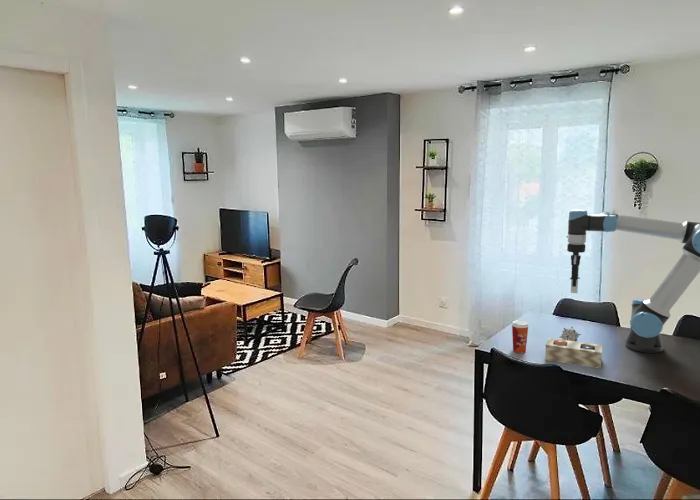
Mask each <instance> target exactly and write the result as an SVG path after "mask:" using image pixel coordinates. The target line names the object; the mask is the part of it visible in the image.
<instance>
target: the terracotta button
mask: <svg viewBox="0 0 700 500" xmlns="http://www.w3.org/2000/svg"><path fill="white" fill-rule="evenodd" d="M555 339H556V340H555V345H562V346H566V341H565V340H563V339H562V338H555Z"/></svg>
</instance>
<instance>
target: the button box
mask: <svg viewBox="0 0 700 500" xmlns="http://www.w3.org/2000/svg"><path fill="white" fill-rule="evenodd" d="M547 338H548V339H547V340H546V344H545V355H544V358H545V359H544V360H545V361H550V362H556V363H557V362H558V363H564V364H570V365H575V364H576V365H575V366H582V365H584V366H583V367H588V366H591V367H590V368H594V367H598V368H597V369H601V368H602V358H603V357H602V355H603V344H597V343H589V342H582V341H568V340H565V341H566V346H562V345H555V340H556V339H557V338H552V337H547ZM584 345H588V346H592V347H593V348H594V350H591V349H583V348H582V346H584Z"/></svg>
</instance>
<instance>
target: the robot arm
mask: <svg viewBox="0 0 700 500" xmlns="http://www.w3.org/2000/svg"><path fill="white" fill-rule="evenodd" d="M567 225H568V227H567V231H568V232H567V235H566V238H567V243H568V244H567V252H569V253H572V254H570V262H571V263H570V265H571V277H569V280H570V281H571V283H570V293H571V294H578V287H579V280H581V279H580V277H579V267H580V264H581V257H582V255H580V254H581V253H585V252H586V242H587V232H605V233H609V232H612V233H613V232H616V231H618V232H626V233H630V234H631V233H632V234H637V235H638V234H639V235H644V236H650V237H651V236H652V237H657V238H662V239H663V238H664V239H669V240H670V239H671V240H674V241H675V240H676V241H679V242H680V243H681V244H684V245H683V247H682V251H683V252H682V253H683V254H682V255H681V256H680V257H679V259H678V260H677V262H676V263H675V264H674V266H673V267H672V269H670V271H669V272H668V273H667V274H666V276H665V277H664V279H663V280H662V282H661V283H660V284H659V286H658V287H657V288H656V289H655V291H654V292H653V294H652V295H651V296H650V298H649V299H646V298H635V299H632V302H631V315H630V319H629V322H630V323H629V324H630V329H629V332H628V334H627V336H626V338H625V341H624V342H625V343H624V346H625V347H626V348H628V349H631V351H632V350H633V351H635V352H640V353H644V354H645V353H648V354H658V353H661V352H663V351H664V350H663V349H664V344H663V340H662V338H661V332H662V331H663V328H664V325H665V323H667V321H669V319H670V318H671V313H670V310H672V308H673V307H674V305H675V304H676V303H677V301H678V300H679V299H680V298H681V297H682V295H683V294H684V293H685V291H687V289H688V287H689V286H690V285H691V284H692V282H693V281H694V280H695V279H696V277H697V276H698V274H699V273H700V222H694V221H689V220H688V221H684V222H677V221H668V220H662V219H655V218H647V217H642V216H641V217H640V216H636V215H635V216H634V215H626V214H618V213H613V212H612V213H611V212H608V211H602V212H599V213H598V214H589V213H588V211H587V210H586V209H571V210H570V211H569V214H568V224H567Z"/></svg>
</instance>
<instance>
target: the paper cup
mask: <svg viewBox="0 0 700 500" xmlns="http://www.w3.org/2000/svg"><path fill="white" fill-rule="evenodd" d="M510 325H511V329H512V330H511V331H512V332H511V333H512V350H513V352H514V353H516V354H525V353H526V351H527V343H528V342H527V341H528V331H529V327H530V325H529V323H528V322H527V321H526V320H518V319H516V320H513V321H512V323H511V324H510Z"/></svg>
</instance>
